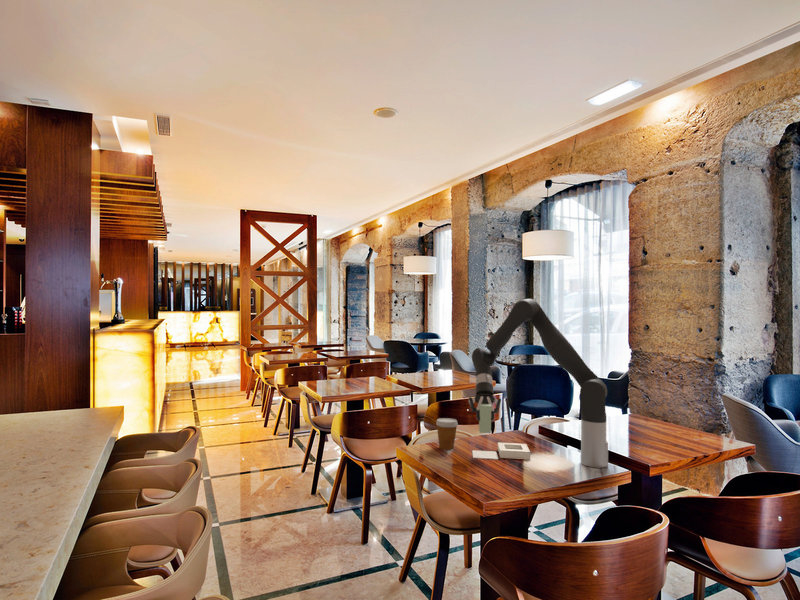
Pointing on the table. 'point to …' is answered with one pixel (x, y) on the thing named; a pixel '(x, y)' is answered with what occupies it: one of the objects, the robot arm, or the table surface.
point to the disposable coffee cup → (446, 432)
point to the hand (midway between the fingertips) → (485, 420)
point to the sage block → (485, 418)
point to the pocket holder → (513, 450)
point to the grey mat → (485, 455)
